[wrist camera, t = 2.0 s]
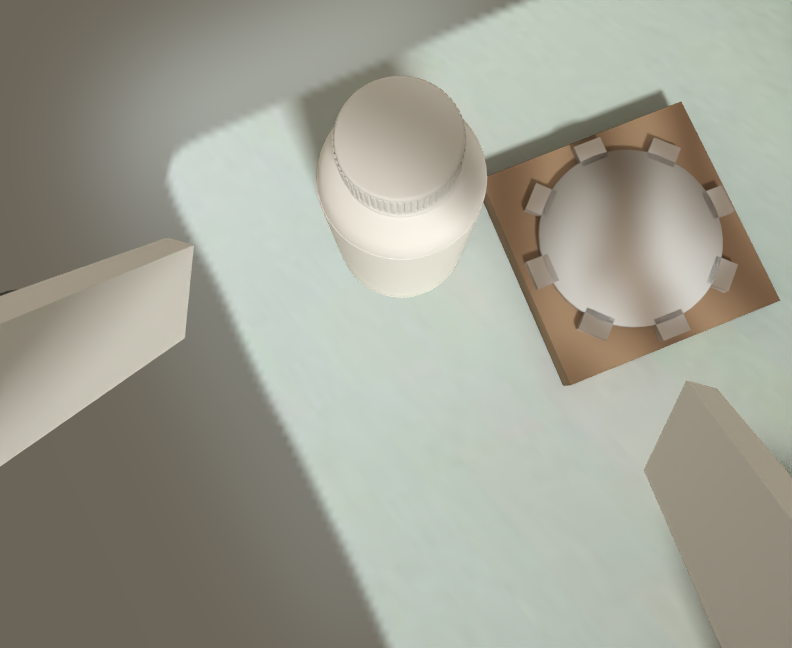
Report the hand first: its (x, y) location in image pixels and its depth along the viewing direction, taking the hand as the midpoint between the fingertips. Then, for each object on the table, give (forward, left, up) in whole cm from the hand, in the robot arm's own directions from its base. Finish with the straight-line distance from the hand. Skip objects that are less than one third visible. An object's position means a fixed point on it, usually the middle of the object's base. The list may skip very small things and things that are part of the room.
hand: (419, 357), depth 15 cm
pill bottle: (-3, -9, -21) cm, 23 cm away
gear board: (-16, -3, -21) cm, 27 cm away
